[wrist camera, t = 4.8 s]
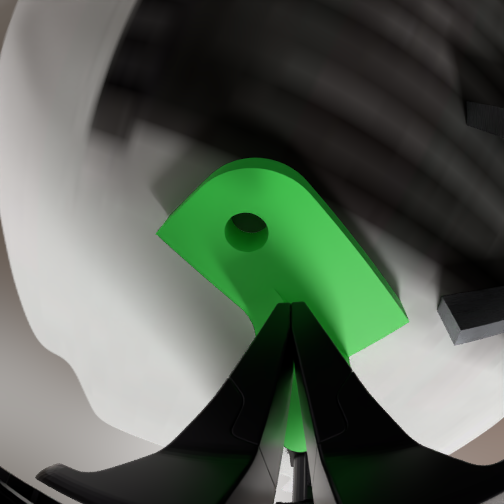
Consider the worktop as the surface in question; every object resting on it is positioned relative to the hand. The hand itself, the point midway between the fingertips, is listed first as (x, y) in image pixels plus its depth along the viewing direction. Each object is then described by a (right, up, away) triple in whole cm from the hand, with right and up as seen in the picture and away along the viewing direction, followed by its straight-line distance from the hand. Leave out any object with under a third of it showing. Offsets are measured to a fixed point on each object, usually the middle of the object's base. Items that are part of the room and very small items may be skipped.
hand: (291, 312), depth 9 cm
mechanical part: (+1, +2, +6) cm, 6 cm away
